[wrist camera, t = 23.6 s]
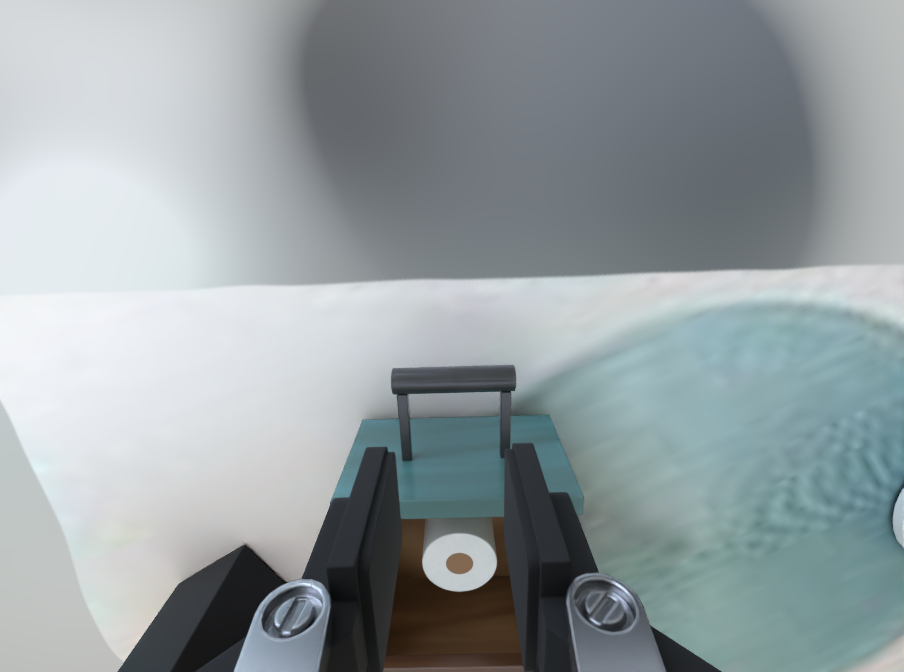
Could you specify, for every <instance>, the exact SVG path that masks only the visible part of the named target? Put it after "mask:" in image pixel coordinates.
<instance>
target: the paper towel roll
mask: <svg viewBox="0 0 904 672" xmlns="http://www.w3.org/2000/svg"><path fill="white" fill-rule="evenodd" d="M422 566H423V570H424V572H425V574H426V576H427V577H428V579H429V580H430V581H431V582H433V583H434V584H435V585H437V586H439V587H441V588H443V589H446V590H450V591H458V592H461V591H469V590H473V589H476V588H478V587H480V586H482V585H484V584H485V583H486V582H488V581H489V580H490V579H491V577H492V576H493V574H494V572H495V570H496V567H497V555H496V547H495V539H494V530H493V522H492V517H471V518H428V519H426V520H425V532H424V544H423V556H422Z"/></svg>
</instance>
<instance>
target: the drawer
mask: <svg viewBox="0 0 904 672" xmlns="http://www.w3.org/2000/svg"><path fill="white" fill-rule="evenodd" d="M391 387H392V393H393V394H397V402H398V415H399V419H373V420H362V423H361V425H360V428H359V430H358V433H357V435H356V438H355V441H354V443H353V446H352V448H351V451H350V453H349V456H348V458H347V461H346V464H345V466H344V469H343V471H342V474H341V476H340V479H339V481H338V484H337V487H336V489H335V492H334V494H333V497H332V499H331V502H332V500H333V499H334V498H340V497H350V494H351V491H352V488H353V485H354V482H355V479H356V476H357V473H358V470H359V467H360V464H361V461H362V458H363V455H364V452H365V449H366V447H384V446H387V448H388V452H395V456H396V467H397V479H398V491H399V503H400V515H401V527H402V545H401V552H400V559H399V566H398V573H397V580H396V587H395V593H394V600H393V607H392V614H391V621H390V628H389V635H388V642H387V649H386V655H427V654H477V653H521V649H520V642H519V636H518V629H517V622H516V615H515V608H514V602H513V595H512V588H511V581H510V574H509V568H508V561H507V554H506V547H505V539H504V466H505V449H512V444H513V443H533V444H534V447H535V450H536V453H537V456H538V460H539V463H540V466H541V469H542V472H543V475H544V479H545V482H546V485H547V488H548V491H549V492H567V493H568V494H569V496H570V498H571V501H572V503H573V506H574V509H575V511H576V514H577V515H582V514H583V503H584V496H583V494H582V491H581V489H580V486H579V484H578V482H577V479H576V477H575V475H574V472H573V470H572V468H571V465H570V463H569V461H568V458H567V456H566V454H565V451H564V449H563V447H562V444H561V442H560V439H559V437H558V435H557V432H556V430H555V428H554V425H553V423H552V421H551V418H550V416H549V415H525V416H511V391H515V389H516V372H515V367H514V365H494V366H457V367H421V368H393V369H392V374H391ZM463 392H500V416H487V417H449V418H411V419H410V412H409V398H408V394H426V393H463ZM331 502H330V504H331ZM471 517H492V522H493V530H494V539H495V547H496V555H497V567H496V570H495V572H494V574H493V576H492V577H491V579H490V580H489V581H488V582H486V583H485V584H484V585H482V586H480V587H478V588H476V589H473V590H469V591H461V592H458V591H450V590H446V589H443V588H441V587H439V586H437V585H435V584H434V583H433V582H431V581H430V580H429V579H428V577H427V576H426V574H425V572H424V570H423V566H422V556H423V544H424V532H425V520H426V519H428V518H471Z"/></svg>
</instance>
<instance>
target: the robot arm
mask: <svg viewBox="0 0 904 672" xmlns="http://www.w3.org/2000/svg"><path fill="white" fill-rule="evenodd" d="M893 531H894V533H895V536H896V539H897V541H898V542H899V543H900V545H901V546H902V547H903V549H904V488H903V489H902V491H901V493H900V494H899V497H898V499H897V502H896V504H895V507H894V513H893ZM504 539H505V547H506V554H507V561H508V568H509V574H510V581H511V588H512V595H513V602H514V608H515V615H516V622H517V629H518V636H519V642H520V649H521V656H522V663H523V668H524V672H721V671H720V670H718V669H717V668H715V667H713V666H712V665H710V664H709V663H707V662H706V661H704V660H703V659H701V658H700V657H698V656H696V655H695V654H693V653H692V652H690V651H689V650H687V649H686V648H684V647H683V646H681V645H679V644H678V643H676V642H675V641H673V640H672V639H670V638H669V637H667V636H666V635H664V634H663V633H661V632H659V631H658V630H656V629H655V628H653V627H652V626H650V624H649V621H648V618H647V615H646V612H645V610H644V607H643V605H642V603H641V601H640V599H639V597H638V595H637V594H636V593H635V592H634V591H633V590H632V589H631V588H630V587H629V586H628V585H626V584H625V583H624V582H622V581H621V580H619V579H617V578H615V577H612V576H610V575H607V574H601V573H599V572H598V569H597V566H596V564H595V561H594V559H593V556H592V553H591V551H590V548H589V545H588V543H587V540H586V538H585V535H584V532H583V530H582V527H581V524H580V522H579V519H578V517H577V514H576V511H575V509H574V506H573V503H572V501H571V498H570V496H569V494H568V493H567V492H549V491H548V488H547V485H546V482H545V479H544V475H543V472H542V469H541V466H540V463H539V460H538V456H537V453H536V450H535V447H534V444H533V443H513V444H512V449H505V466H504ZM401 545H402V527H401V515H400V503H399V491H398V479H397V467H396V456H395V452H388V448H387V446H384V447H366V449H365V452H364V455H363V458H362V461H361V464H360V467H359V470H358V473H357V476H356V479H355V482H354V485H353V488H352V491H351V494H350V497H340V498H334V499H333V500H332V502H331V504H330V507H329V510H328V512H327V515H326V517H325V520H324V523H323V525H322V528H321V530H320V533H319V535H318V538H317V541H316V543H315V546H314V548H313V551H312V553H311V556H310V559H309V561H308V564H307V566H306V569H305V572H304V574H303V577H302V579H300V580H295V581H291V582H288V583H286V584H284V585H282V586H280V587H278V588H277V589H275V590H274V591H273V592H271V593H270V594H269V595H268V596H267V597H266V598H265V599H264V600H263V601H262V602H261V604H260V605H259V607H258V609H257V611H256V613H255V615H254V617H253V620H252V623H251V626H250V628H249V631H248V634H247V636H246V637H245V638H243V639H242V640H240V641H239V642H238V643H236V644H235V645H233V646H232V647H230V648H229V649H227V650H226V651H224V652H223V653H222V654H220V655H219V656H217V657H216V658H214V659H213V660H211V661H210V662H208V663H207V664H206V665H204V666H203V667H201V668H200V669H198V670H197V671H195V672H383V669H384V663H385V656H386V649H387V642H388V635H389V628H390V621H391V614H392V607H393V600H394V593H395V587H396V580H397V573H398V566H399V559H400V552H401Z"/></svg>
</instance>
